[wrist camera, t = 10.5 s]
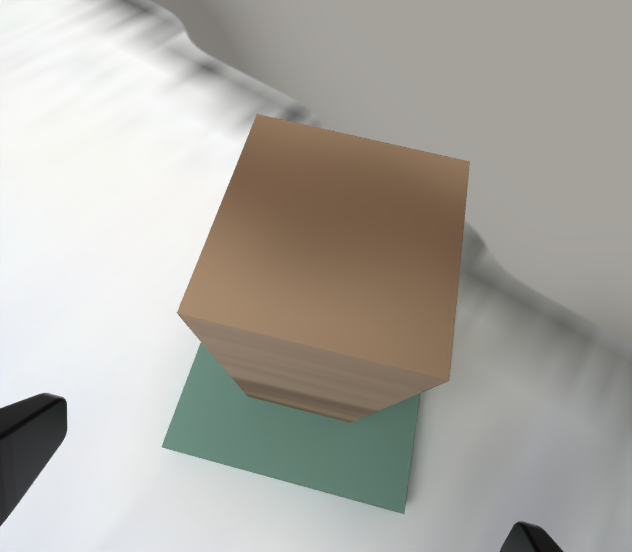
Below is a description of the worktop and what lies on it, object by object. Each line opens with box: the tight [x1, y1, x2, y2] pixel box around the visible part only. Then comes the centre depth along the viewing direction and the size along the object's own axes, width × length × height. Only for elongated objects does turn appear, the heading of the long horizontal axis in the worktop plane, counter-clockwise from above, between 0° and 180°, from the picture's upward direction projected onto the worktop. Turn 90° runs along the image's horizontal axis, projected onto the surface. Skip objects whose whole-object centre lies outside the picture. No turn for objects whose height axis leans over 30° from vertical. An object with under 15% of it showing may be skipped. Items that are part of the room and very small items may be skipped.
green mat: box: [162, 342, 420, 514], centre depth 20 cm, size 11×11×1 cm
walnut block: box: [177, 114, 470, 423], centre depth 14 cm, size 5×5×12 cm
